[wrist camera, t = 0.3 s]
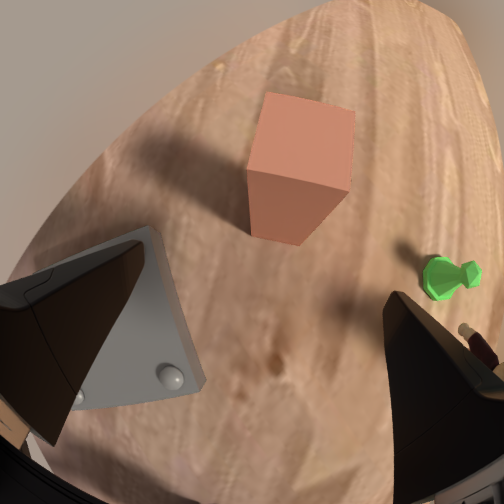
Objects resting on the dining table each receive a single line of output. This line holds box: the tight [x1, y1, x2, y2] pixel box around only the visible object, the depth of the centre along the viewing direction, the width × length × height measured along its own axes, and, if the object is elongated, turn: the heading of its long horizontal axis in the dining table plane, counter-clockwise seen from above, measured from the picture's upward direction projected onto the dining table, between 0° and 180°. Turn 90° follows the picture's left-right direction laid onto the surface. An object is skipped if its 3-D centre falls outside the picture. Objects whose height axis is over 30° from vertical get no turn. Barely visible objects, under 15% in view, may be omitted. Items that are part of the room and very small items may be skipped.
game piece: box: [423, 257, 482, 301], centre depth 19 cm, size 4×4×6 cm
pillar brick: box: [247, 92, 355, 246], centre depth 17 cm, size 4×4×13 cm
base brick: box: [33, 225, 206, 411], centre depth 20 cm, size 13×13×4 cm
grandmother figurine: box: [458, 323, 504, 381], centre depth 15 cm, size 8×4×13 cm, turn 30°
